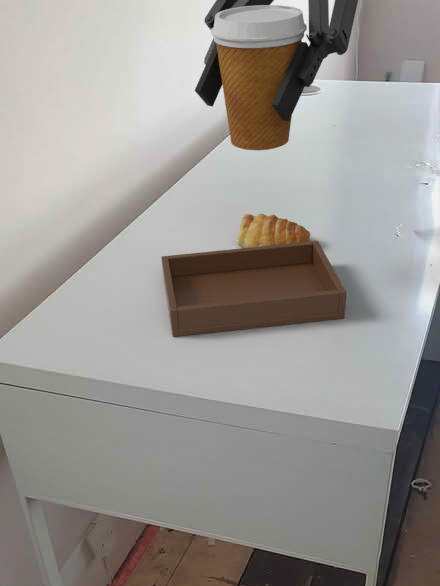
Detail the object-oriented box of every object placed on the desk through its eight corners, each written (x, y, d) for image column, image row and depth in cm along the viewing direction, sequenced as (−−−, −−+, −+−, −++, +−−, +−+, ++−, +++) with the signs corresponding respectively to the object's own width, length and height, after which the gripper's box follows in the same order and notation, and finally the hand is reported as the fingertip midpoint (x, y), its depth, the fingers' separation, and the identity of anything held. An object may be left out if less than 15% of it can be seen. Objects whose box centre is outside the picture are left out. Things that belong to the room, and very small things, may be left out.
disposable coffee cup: (315, 149, 76) (320, 17, 68) (228, 161, 74) (223, 27, 66) (288, 123, 83) (289, 0, 75) (207, 133, 81) (200, 9, 73)
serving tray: (316, 265, 91) (317, 240, 89) (344, 318, 81) (346, 292, 79) (163, 280, 90) (161, 256, 88) (172, 337, 80) (170, 310, 78)
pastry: (312, 237, 97) (314, 209, 95) (304, 259, 93) (305, 231, 90) (245, 232, 99) (244, 205, 97) (234, 254, 95) (233, 226, 92)
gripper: (444, -73, 70) (344, 143, 71) (263, -77, 81) (180, 110, 82) (426, -141, 63) (317, 99, 65) (231, -136, 74) (143, 69, 76)
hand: (240, 105), depth 74 cm, fingers closed on disposable coffee cup, 9 cm apart
